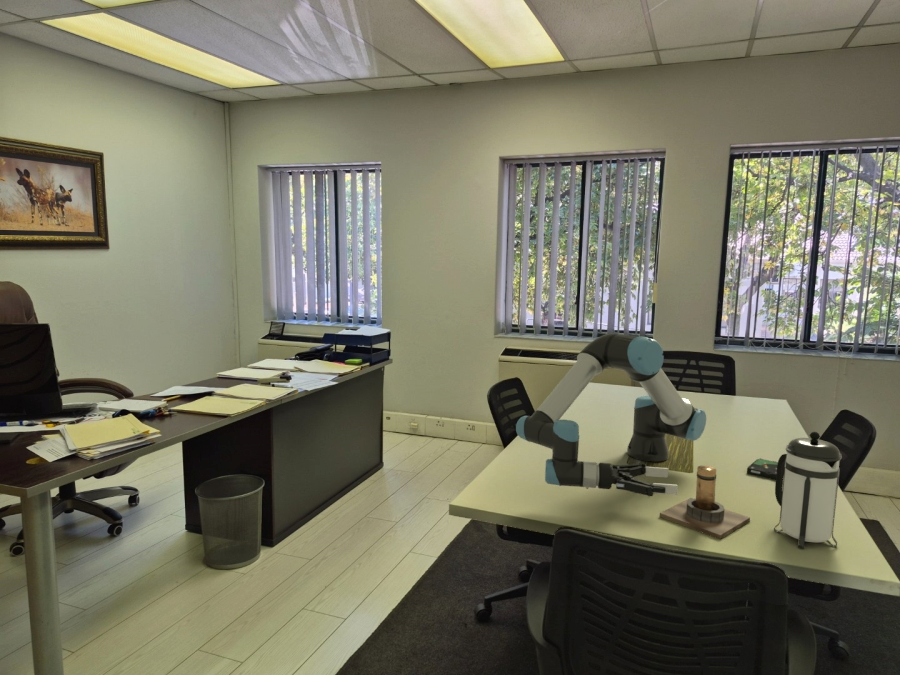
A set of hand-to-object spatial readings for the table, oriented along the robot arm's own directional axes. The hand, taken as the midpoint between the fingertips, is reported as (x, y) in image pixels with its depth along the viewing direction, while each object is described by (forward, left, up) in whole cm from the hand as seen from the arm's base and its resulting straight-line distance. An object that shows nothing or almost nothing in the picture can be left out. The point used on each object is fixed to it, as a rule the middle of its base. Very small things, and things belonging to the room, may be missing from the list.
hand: (672, 481), depth 175 cm
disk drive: (-63, +2, -11) cm, 64 cm away
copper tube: (-6, +7, -9) cm, 13 cm away
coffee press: (-16, +29, -11) cm, 35 cm away
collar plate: (-6, +7, -11) cm, 14 cm away
